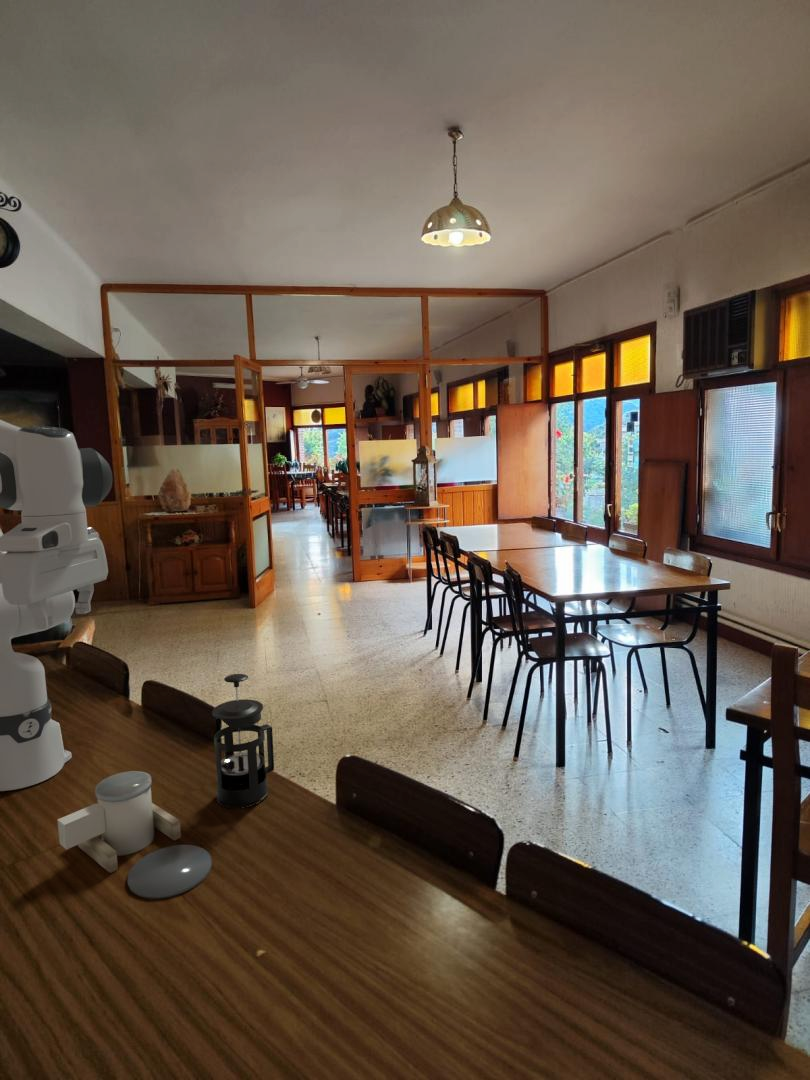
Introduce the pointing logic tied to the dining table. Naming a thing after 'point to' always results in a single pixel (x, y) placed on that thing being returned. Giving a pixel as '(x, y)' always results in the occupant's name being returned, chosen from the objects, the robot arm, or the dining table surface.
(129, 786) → the white handled cylinder
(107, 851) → the stand
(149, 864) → the mat
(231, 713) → the french press
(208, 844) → the dining table surface
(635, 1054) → the dining table surface
